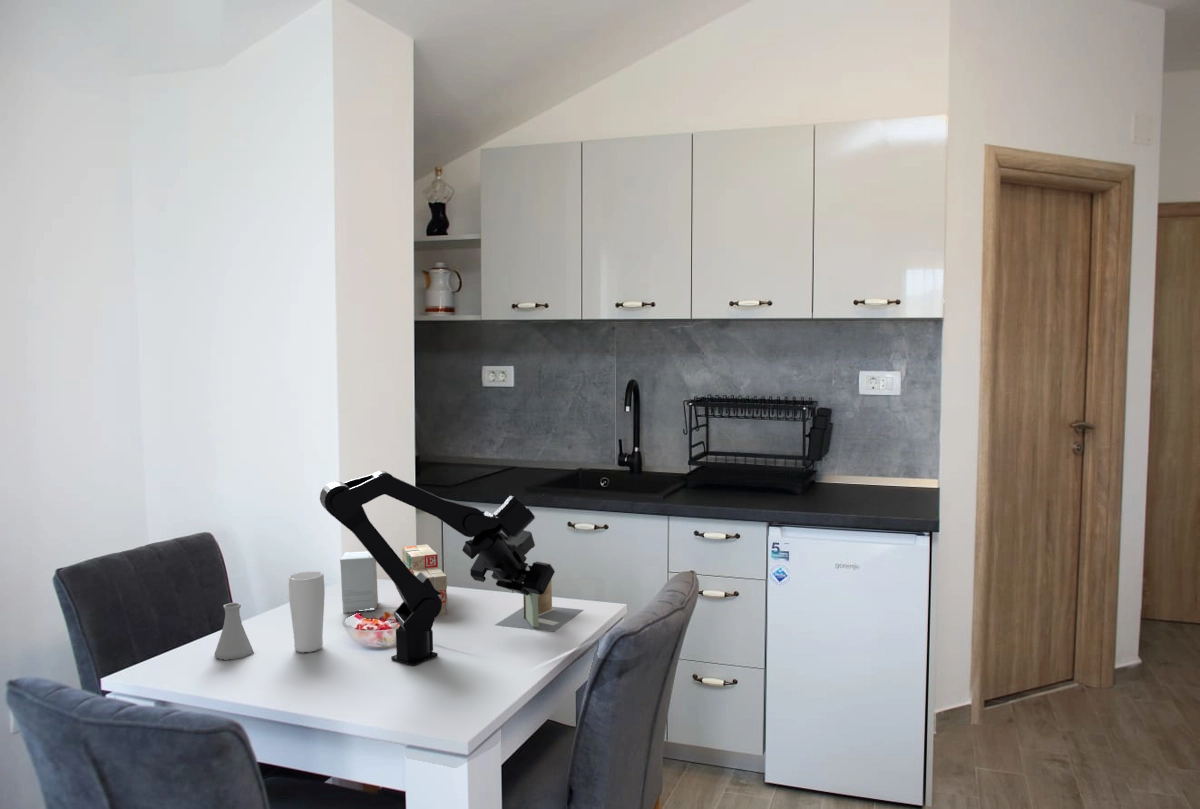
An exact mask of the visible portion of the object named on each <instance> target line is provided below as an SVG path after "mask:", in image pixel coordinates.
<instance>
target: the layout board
mask: <svg viewBox="0 0 1200 809" xmlns="http://www.w3.org/2000/svg"><path fill="white" fill-rule="evenodd" d="M583 611H584V609H580V608H579V609H578V608H569V607H558V606H552V609H551V610H549V611H546V612H544V613H541V614H539V615H538V627H532V625H531V624H530V623H529V621H528V620H527V619H524V606H522V607H521V608H519V609H518V610H517V611H515V612H513V613H512V614H510V615H508V616H507V617H505V618H504V619H502V620H501V621H499V622H497V623H496V624H495V626H496V627H497V626H499V627H506V628H507V627H508V628H517V629H525V630H535V631H541V632H543V631H544V632H552V633H555V632H556V631H557V630H559V629H561V628H562V627H563V626H565V624H568V622H570V621H571V620H573V619H574V618H575V617H577V616H578V615H579V614H580V613H582V612H583Z"/></svg>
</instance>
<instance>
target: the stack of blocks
mask: <svg viewBox="0 0 1200 809" xmlns="http://www.w3.org/2000/svg"><path fill="white" fill-rule="evenodd" d="M401 552H402V553H401V554H402V562H403V563H404V564H405V565H406V567H407V568H408V569H409V570H410V572H411V573H412V574H414V575H415V576H417V575H418V574H419V573H420V572H422V573H423V574H424V575H425V576H427V577H428V578H429V580H430V581H431V583H432V585H433V586H434V587H435V588H436V589H437V590H438V591H439V592H440V593H441V594H440V595H438V596H439V597H440V599H441V601H442V607H441V611H440V613H439V615H438V616H442V615H443V616H444V615H447V614H448V610H447V604H448V601H447V599H448V597H447V594H448V593H447V588H448V585H447V584H448V583H447V582H448V580H447V576H448V575H446V573H444V572H443V570H442V569H441V568H440V567H439V566H438V565H439V561H438V559H439V558H438V553H437V552H436V551H435V550H433V549H432V548H431V547H430V545H429V544H418V545H417V544H416V545H408V546H403V547H402V548H401Z"/></svg>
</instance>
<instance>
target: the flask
mask: <svg viewBox="0 0 1200 809" xmlns="http://www.w3.org/2000/svg"><path fill="white" fill-rule="evenodd" d="M241 606H242V605H241V603H240V602H229V603H226V604H223V610H224V612H225V613H224V614H225V615H224V616H225V617H224V622H223V627H222V630H221V632H220V636H219V640H218V643H217V645H216V648H215V651H214V657H215V656H216V658H215V659H217V658H219V659H218V660H222V659H224V661H230V660H229V659H231V660H235V659H243V658H245V657H247V656H249V655H251V654H255V652H254V649H253V647H252V645H251V642H250V640H249V638H248V635H247V634H246V631H245V628H244V625H243V623H242V620H241V612H240V608H241Z"/></svg>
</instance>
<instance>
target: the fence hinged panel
mask: <svg viewBox="0 0 1200 809" xmlns="http://www.w3.org/2000/svg"><path fill="white" fill-rule="evenodd" d="M525 596H526V619H527V620H528V621H529V623H530V624H531V625H532V627H538V594H534V593H530V592H529V595H528V596H527V595H525Z"/></svg>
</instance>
